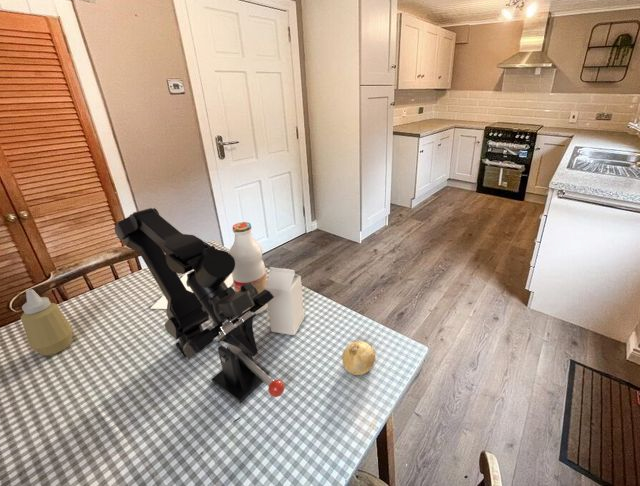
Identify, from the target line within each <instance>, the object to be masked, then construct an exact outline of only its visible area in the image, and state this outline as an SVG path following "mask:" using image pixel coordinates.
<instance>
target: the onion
mask: <svg viewBox="0 0 640 486" xmlns="http://www.w3.org/2000/svg"><path fill="white" fill-rule="evenodd" d="M341 360H342V361H341V362H342V365H343V367H344V369H345V370H346V372H348V373H349V374H351V375H353V376H362V375H365V374H367V373H368V372H369V371H371V369H372V368H373V367H374V365H375V361H376V353H375V350H374V349H373V347H372V346H371V345H370V344H369V343H367V342H365V341H361V340H356V341H353V342H350V344H348V345H347V346H346V347H345V348H344V350H343V352H342V356H341Z"/></svg>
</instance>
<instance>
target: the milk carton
mask: <svg viewBox="0 0 640 486" xmlns="http://www.w3.org/2000/svg"><path fill="white" fill-rule="evenodd" d="M265 289H266V290H268V291H271V293H272V294H273V296H274V298H273V299H272V300H270V301H269V302H268V303H267V305H268V307H267V311H268V312H267V313H268V319H269V326H270V332H273V333H276V334H277V333H278V334H284V335H289V336H295V335H296V334H297V331H298V330H299V328H300V327H301V325H302V324H303V321H304V319H305V311H304V310H305V309H304V298H303V287H302V276H301V275H300V274H296V271H295V269H290V268H280V267H269V273H268V276H267V282H266V286H265Z"/></svg>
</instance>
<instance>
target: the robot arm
mask: <svg viewBox="0 0 640 486" xmlns="http://www.w3.org/2000/svg"><path fill="white" fill-rule="evenodd" d="M114 233H115V235H116V237H117V239H118V240H120V241H122V242H123V243H124V245H125V247H127V248H128V249H131V250H133V251H135V252H137V253H139V255H140V256H141V258H142V260H143V262H144V263H145V265H146V267H147V268H148V270H149V271H150V274H151V275H152V277H153V278H154V281H155V282H156V284H157V285H158V287H159V289H160V290H161V293H162V295H164V296H165V297H166V299H167V301H168V304H167V309H166V311H165V312H166V313H165V315H166V318H167V320H166V322H165V323H164V328H165V330H166V332H167V334H169V335H170V336H171V337H172V338H174V340H176V341H177V340H178V341H177V342H175V346H176V348H177V349H178V351H179V352H180V353H181V355H182V356H183V357H184V358H186V359H187V360H188V361H189V360H190V359H192V358H193V357H195V356H196V355H197V354H199V353H200V352H201V351H203V350H204V349H205V348H206V347H208V346H209V345H211V343H213V342H214V339H215V338H217V339H218V340H217V341H216V342H217V344H220V343H222V342H224V343H226V344H228V345H230V344H231V345H233V346H235V347H237V348H239V349H241V350H243V351H244V352H246V353H248V354H250V355H252V357H255V356H256V355H258V353H259V351H258V347H257V343H256V339H255V333H254V326H253V323H254V318H255V317H256V316H257V314H256V313H255V314H254V315H252V313H254V312H256V311H257V310H258V309H260V308H261V307H263V306H264V305H265V304H267V303H268V302H269V301H270V300H272V299H273V298H274V296H273V294H272V293H271V291H268V290H266V289H265V290H263V291H262V292H260V293H259V294H258V291H257V289H256V287H255V286H254V285H253V284H252V282H247V283H245V284H244V285H242V286H241V287H240V288H241V290H240V291H238V292H235V288H234V287H232V286H230V287H229V288H228V287H227V285H226V284H225V283H224V281H225V280H226V279H227V278H228V276H229V275H230V274H231V273H232V272H233V270H234V268H235V260H234V257H233V256H232V255H230V254H229V251H228V252H227V250H224V249H223V250H222V249H218V248H216V246H215V245H210V244H209V243H208V242H206V241H205V240H203V239H201V238H199V237H198V236H196V235H194V234H187V233H182V232H181V231H180V230H178V228H176V227H175V226H173V225H172V224H171V223H170V222H169V221H167V220H166V219H165V218H164V217H162V216H161V214H160V213H159V211H158V209H157V208H155V207H154V208H152V207H149V208H145V209H142V210H138V211H133V213H130V214H129V215H128V216H127V217H126V218H124V219H121V220H118V222H117V223H116V224H115V226H114ZM186 273H189V274H187V281H186V284H187V286H188V287H190V288H191V289H192V291H193V293H192V292H190V291H188V290H186V288H185V286H184V285H183V283H182V281H181V280H180V279H181V277H180V276H179V275H185V274H186ZM178 274H179V275H178ZM251 312H252V313H251ZM210 319H211V320H212V322H213V323H212V326H213V328H211V329H209V328H205V329H203V324H204V323H206V322H208V321H210ZM226 321H227V322H226ZM235 325H236V326H235Z"/></svg>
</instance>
